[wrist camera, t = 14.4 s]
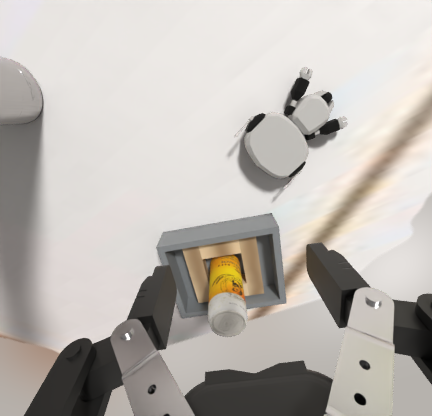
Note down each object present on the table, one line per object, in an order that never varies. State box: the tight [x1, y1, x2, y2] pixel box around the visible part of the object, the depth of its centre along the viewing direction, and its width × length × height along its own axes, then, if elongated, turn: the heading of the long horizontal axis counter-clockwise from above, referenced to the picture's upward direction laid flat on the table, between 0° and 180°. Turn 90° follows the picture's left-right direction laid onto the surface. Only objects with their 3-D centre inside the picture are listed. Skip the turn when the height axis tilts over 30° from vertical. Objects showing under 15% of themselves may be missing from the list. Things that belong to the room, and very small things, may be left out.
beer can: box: [208, 254, 248, 337], centre depth 40 cm, size 6×6×15 cm
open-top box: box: [156, 213, 286, 318], centre depth 45 cm, size 22×18×6 cm
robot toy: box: [235, 67, 348, 189], centre depth 36 cm, size 12×4×15 cm
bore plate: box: [182, 236, 264, 303], centre depth 45 cm, size 14×14×3 cm
